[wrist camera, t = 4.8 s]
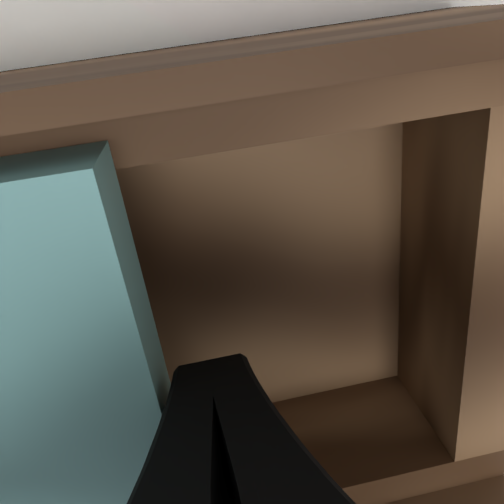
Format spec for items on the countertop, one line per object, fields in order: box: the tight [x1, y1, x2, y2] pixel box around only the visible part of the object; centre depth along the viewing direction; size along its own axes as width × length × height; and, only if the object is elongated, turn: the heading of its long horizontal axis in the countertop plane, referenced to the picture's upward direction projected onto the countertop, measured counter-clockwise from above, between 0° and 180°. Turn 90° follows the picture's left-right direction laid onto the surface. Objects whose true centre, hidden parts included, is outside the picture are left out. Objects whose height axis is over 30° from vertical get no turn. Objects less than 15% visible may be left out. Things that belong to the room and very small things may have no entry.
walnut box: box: [0, 4, 504, 504], centre depth 11 cm, size 12×14×5 cm
